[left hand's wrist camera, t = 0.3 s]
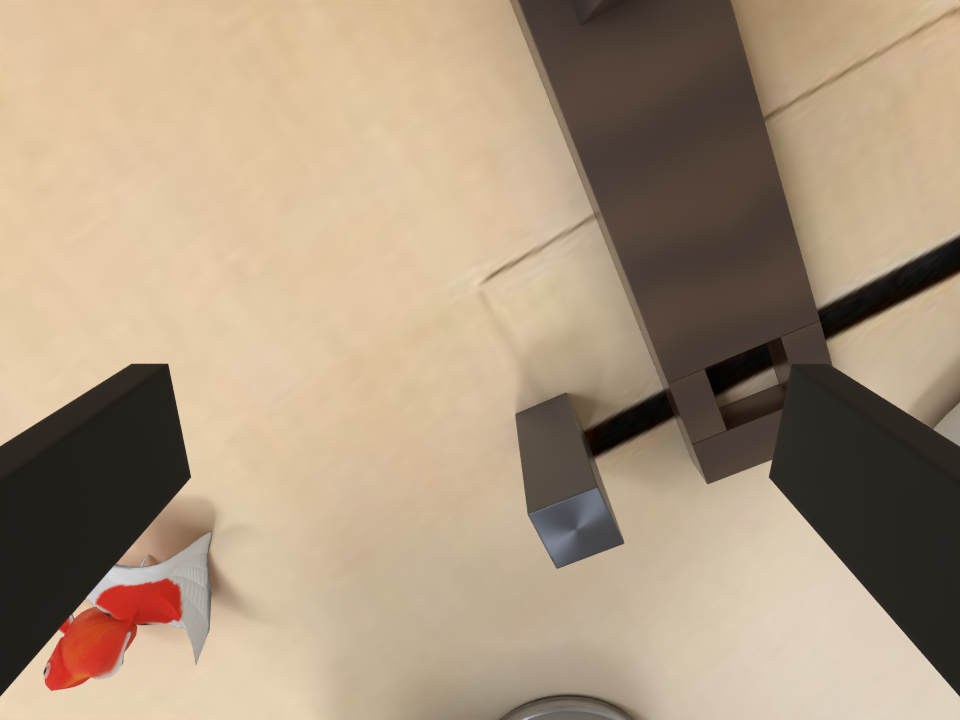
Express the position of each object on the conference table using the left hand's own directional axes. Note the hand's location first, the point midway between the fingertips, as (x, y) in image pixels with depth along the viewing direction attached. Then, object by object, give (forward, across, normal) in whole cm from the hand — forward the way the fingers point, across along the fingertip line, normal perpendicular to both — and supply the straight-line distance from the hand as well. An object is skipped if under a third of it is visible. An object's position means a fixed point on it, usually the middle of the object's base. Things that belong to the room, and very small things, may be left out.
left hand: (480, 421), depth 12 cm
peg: (+27, -5, +14) cm, 30 cm away
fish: (+27, +26, +27) cm, 46 cm away
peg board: (+26, -13, -2) cm, 29 cm away
